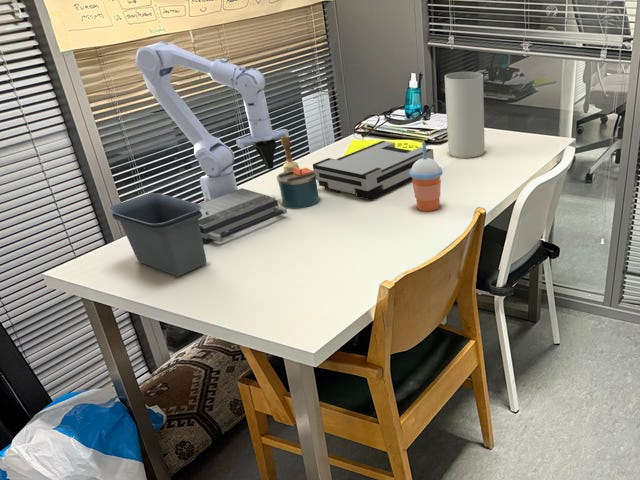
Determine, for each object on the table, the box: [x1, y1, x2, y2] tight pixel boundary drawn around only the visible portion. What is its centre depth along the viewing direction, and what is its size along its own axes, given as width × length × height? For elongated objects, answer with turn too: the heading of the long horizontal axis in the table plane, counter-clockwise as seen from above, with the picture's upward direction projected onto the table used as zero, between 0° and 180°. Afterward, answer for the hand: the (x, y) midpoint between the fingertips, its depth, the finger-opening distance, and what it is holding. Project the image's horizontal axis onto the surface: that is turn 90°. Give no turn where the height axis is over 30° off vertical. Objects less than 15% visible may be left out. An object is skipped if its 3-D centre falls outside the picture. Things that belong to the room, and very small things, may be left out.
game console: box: [312, 140, 435, 201], centre depth 202 cm, size 21×32×8 cm, turn 147°
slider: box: [293, 167, 314, 176], centre depth 188 cm, size 4×4×2 cm
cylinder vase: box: [444, 71, 486, 159], centre depth 219 cm, size 12×12×25 cm
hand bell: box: [280, 136, 300, 172], centre depth 202 cm, size 8×8×16 cm
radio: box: [198, 187, 288, 244], centre depth 177 cm, size 24×5×20 cm
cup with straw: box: [409, 142, 443, 212], centre depth 180 cm, size 9×9×18 cm
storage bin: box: [107, 192, 207, 277], centre depth 156 cm, size 21×16×14 cm
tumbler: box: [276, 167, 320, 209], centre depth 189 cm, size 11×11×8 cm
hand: (269, 168), depth 185 cm, fingers closed
